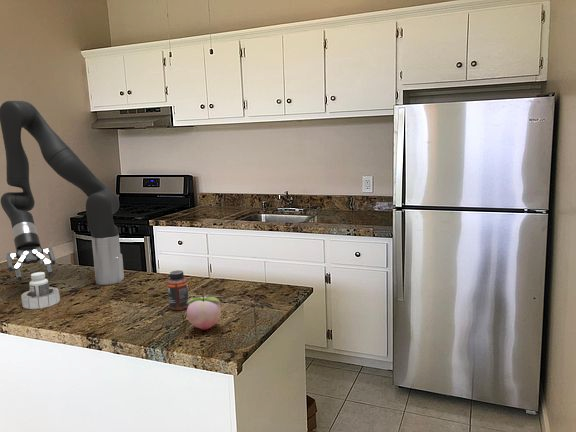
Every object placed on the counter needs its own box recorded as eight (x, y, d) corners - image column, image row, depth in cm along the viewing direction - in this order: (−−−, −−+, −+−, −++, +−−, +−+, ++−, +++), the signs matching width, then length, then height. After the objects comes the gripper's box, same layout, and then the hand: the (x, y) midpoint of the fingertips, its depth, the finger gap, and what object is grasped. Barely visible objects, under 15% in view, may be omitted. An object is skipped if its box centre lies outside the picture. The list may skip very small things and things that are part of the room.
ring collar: (64, 296, 154) (63, 286, 154) (52, 307, 144) (50, 297, 144) (31, 298, 153) (30, 288, 153) (16, 309, 143) (15, 299, 142)
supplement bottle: (192, 305, 144) (190, 270, 142) (182, 312, 138) (180, 275, 136) (176, 303, 145) (173, 268, 144) (165, 310, 140) (162, 274, 138)
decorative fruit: (222, 322, 130) (221, 287, 128) (222, 334, 122) (220, 297, 120) (188, 324, 128) (186, 290, 127) (185, 336, 120) (183, 300, 119)
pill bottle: (51, 299, 152) (48, 270, 151) (49, 304, 147) (46, 274, 146) (33, 301, 150) (29, 272, 149) (30, 306, 145) (26, 276, 144)
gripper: (2, 234, 154) (10, 275, 147) (49, 229, 163) (59, 267, 155) (2, 247, 159) (10, 287, 152) (48, 241, 168) (57, 278, 160)
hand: (35, 277), depth 154 cm, fingers open, 8 cm apart
